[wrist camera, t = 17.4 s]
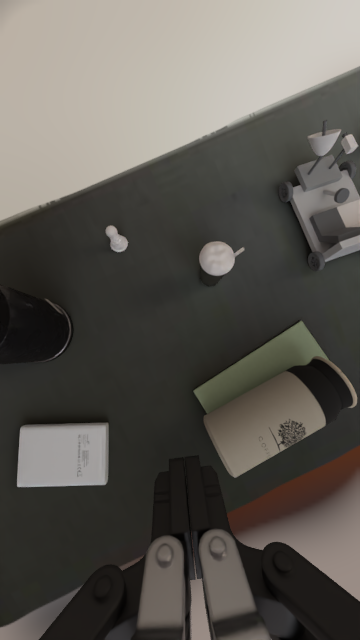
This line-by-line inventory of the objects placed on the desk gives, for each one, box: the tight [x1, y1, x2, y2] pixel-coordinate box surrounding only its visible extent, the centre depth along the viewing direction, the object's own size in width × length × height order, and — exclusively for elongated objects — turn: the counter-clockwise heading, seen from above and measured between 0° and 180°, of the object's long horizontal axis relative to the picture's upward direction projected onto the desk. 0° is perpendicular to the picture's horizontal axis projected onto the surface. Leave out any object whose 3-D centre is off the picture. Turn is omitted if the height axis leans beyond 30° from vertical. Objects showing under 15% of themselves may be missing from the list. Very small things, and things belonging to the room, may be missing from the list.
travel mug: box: [204, 356, 357, 478], centre depth 33 cm, size 8×8×18 cm
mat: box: [193, 321, 329, 414], centre depth 37 cm, size 20×13×1 cm, turn 122°
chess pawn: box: [105, 226, 128, 252], centre depth 38 cm, size 3×3×5 cm
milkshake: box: [199, 241, 245, 287], centre depth 35 cm, size 4×5×10 cm
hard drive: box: [17, 423, 109, 487], centre depth 36 cm, size 2×8×12 cm
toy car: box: [279, 120, 360, 271], centre depth 36 cm, size 18×10×12 cm
